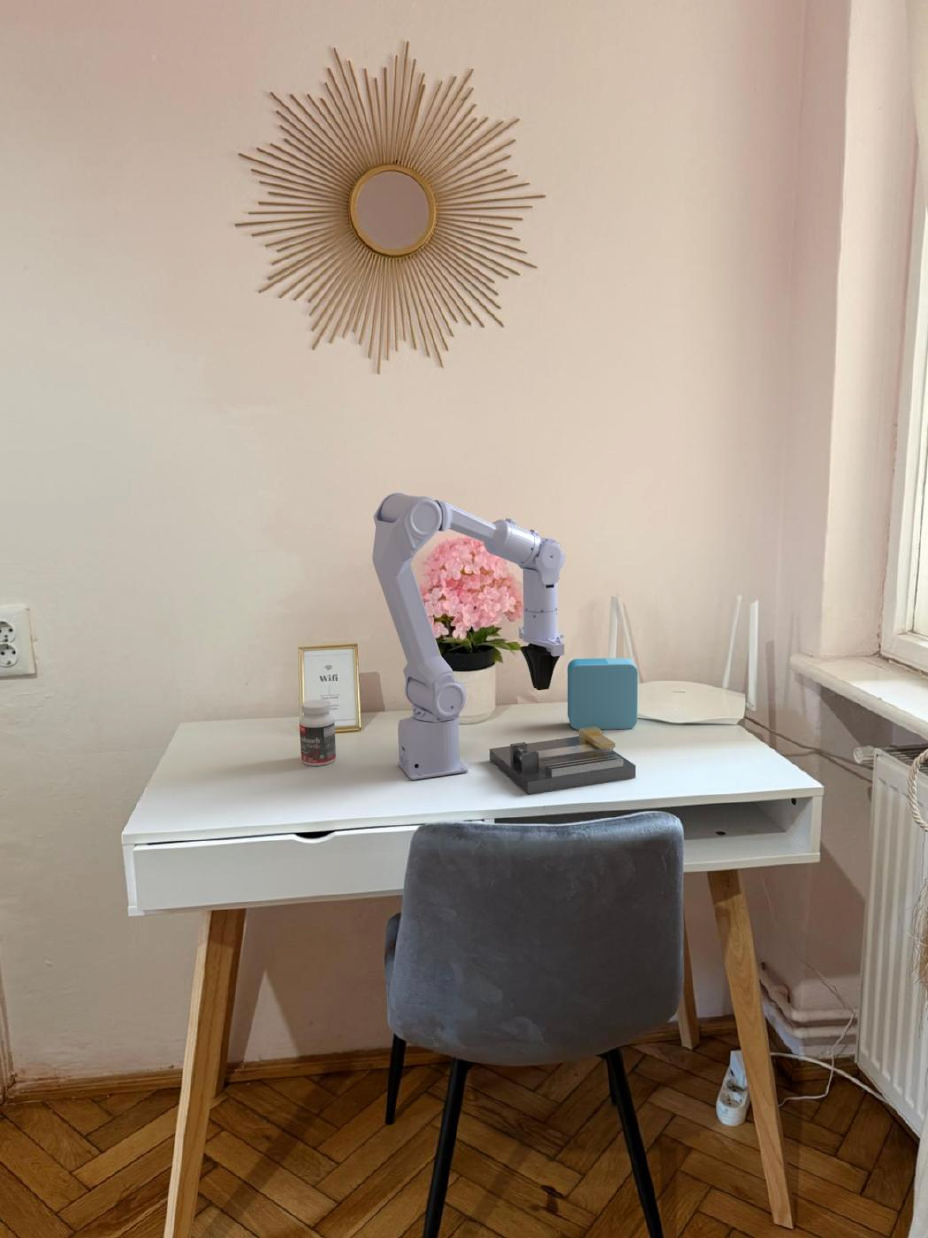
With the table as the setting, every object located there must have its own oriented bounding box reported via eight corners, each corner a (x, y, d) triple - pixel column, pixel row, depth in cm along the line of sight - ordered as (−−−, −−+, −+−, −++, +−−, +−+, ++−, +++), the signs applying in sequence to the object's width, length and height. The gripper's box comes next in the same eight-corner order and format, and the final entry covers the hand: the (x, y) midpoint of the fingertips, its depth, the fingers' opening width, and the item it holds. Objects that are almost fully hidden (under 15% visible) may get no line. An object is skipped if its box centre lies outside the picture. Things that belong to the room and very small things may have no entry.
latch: (599, 762, 156) (599, 742, 155) (578, 747, 163) (578, 728, 162) (616, 759, 157) (617, 740, 156) (595, 745, 164) (595, 726, 163)
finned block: (527, 794, 149) (527, 763, 148) (489, 760, 164) (489, 731, 163) (635, 777, 155) (635, 746, 154) (589, 746, 169) (589, 717, 168)
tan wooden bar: (524, 766, 153) (524, 757, 153) (516, 760, 156) (516, 751, 155) (613, 753, 158) (613, 745, 157) (604, 747, 161) (604, 739, 160)
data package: (633, 721, 182) (634, 657, 180) (637, 729, 178) (638, 663, 175) (567, 722, 182) (567, 658, 180) (569, 730, 178) (569, 665, 175)
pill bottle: (294, 764, 164) (290, 705, 162) (315, 753, 169) (311, 696, 167) (323, 769, 162) (319, 710, 160) (343, 758, 167) (340, 700, 165)
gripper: (581, 615, 161) (581, 696, 163) (544, 599, 174) (545, 675, 177) (541, 619, 158) (541, 701, 161) (507, 603, 172) (508, 679, 175)
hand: (541, 688), depth 169 cm, fingers closed
